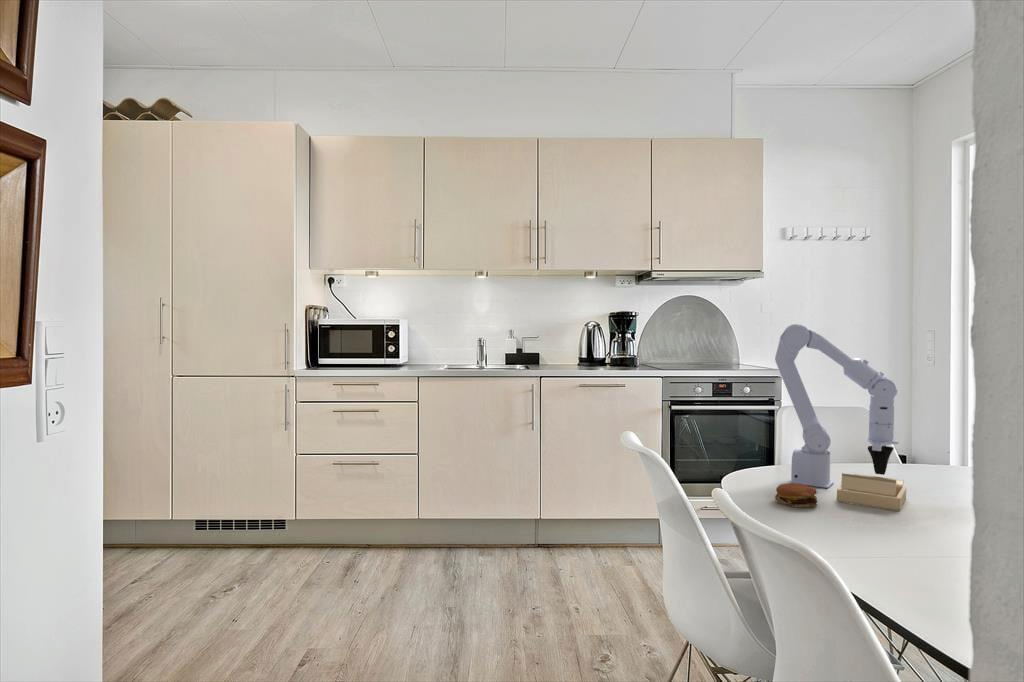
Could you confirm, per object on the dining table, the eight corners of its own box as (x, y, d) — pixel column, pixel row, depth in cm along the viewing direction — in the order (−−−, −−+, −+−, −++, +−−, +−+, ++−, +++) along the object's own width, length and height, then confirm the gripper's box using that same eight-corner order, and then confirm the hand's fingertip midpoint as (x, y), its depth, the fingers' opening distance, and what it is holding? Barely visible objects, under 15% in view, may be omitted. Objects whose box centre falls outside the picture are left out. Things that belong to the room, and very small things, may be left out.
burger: (770, 497, 166) (770, 479, 166) (808, 499, 166) (809, 480, 165) (782, 509, 156) (783, 489, 156) (823, 510, 156) (824, 491, 156)
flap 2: (902, 486, 167) (904, 481, 169) (902, 485, 167) (904, 480, 169) (851, 479, 174) (853, 474, 176) (851, 478, 173) (853, 473, 176)
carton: (836, 501, 163) (836, 489, 163) (846, 490, 174) (847, 478, 174) (899, 511, 155) (899, 498, 155) (906, 498, 166) (906, 486, 166)
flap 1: (841, 487, 162) (842, 473, 163) (841, 487, 163) (842, 473, 163) (895, 495, 155) (896, 480, 156) (895, 495, 156) (896, 480, 156)
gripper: (895, 427, 166) (893, 481, 167) (902, 421, 178) (900, 471, 178) (863, 425, 170) (862, 477, 171) (872, 418, 182) (871, 467, 183)
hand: (880, 473), depth 175 cm, fingers closed
